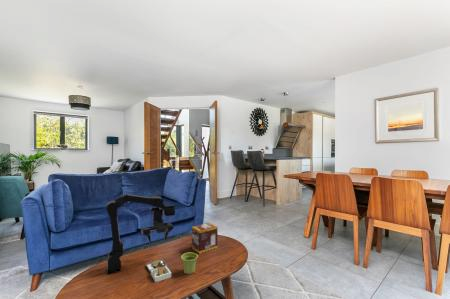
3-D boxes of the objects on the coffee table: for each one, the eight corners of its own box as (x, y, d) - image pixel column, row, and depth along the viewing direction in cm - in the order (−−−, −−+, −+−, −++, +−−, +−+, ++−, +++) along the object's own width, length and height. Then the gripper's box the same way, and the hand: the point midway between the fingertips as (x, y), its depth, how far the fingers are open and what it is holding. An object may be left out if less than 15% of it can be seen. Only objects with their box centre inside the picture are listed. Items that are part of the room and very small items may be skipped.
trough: (155, 282, 115) (155, 277, 115) (150, 274, 122) (150, 270, 122) (171, 277, 120) (171, 272, 120) (165, 270, 127) (166, 265, 127)
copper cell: (158, 277, 118) (159, 264, 118) (156, 274, 121) (156, 261, 121) (165, 275, 120) (166, 262, 120) (163, 272, 123) (163, 259, 124)
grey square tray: (150, 273, 123) (150, 271, 123) (145, 265, 131) (145, 263, 131) (168, 268, 129) (168, 266, 129) (162, 261, 137) (162, 259, 137)
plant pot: (197, 266, 131) (197, 251, 131) (198, 275, 122) (198, 259, 122) (181, 267, 129) (181, 253, 129) (180, 276, 120) (180, 260, 120)
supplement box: (191, 248, 155) (191, 226, 156) (209, 243, 165) (209, 222, 165) (199, 253, 147) (199, 230, 147) (217, 247, 156) (217, 226, 157)
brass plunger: (153, 268, 126) (153, 265, 126) (151, 264, 131) (151, 261, 131) (162, 266, 129) (162, 263, 129) (160, 262, 134) (160, 259, 134)
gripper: (145, 223, 124) (145, 251, 124) (176, 218, 135) (176, 243, 135) (140, 218, 134) (140, 244, 134) (170, 213, 144) (170, 237, 144)
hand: (157, 242), depth 136 cm, fingers open, 9 cm apart
